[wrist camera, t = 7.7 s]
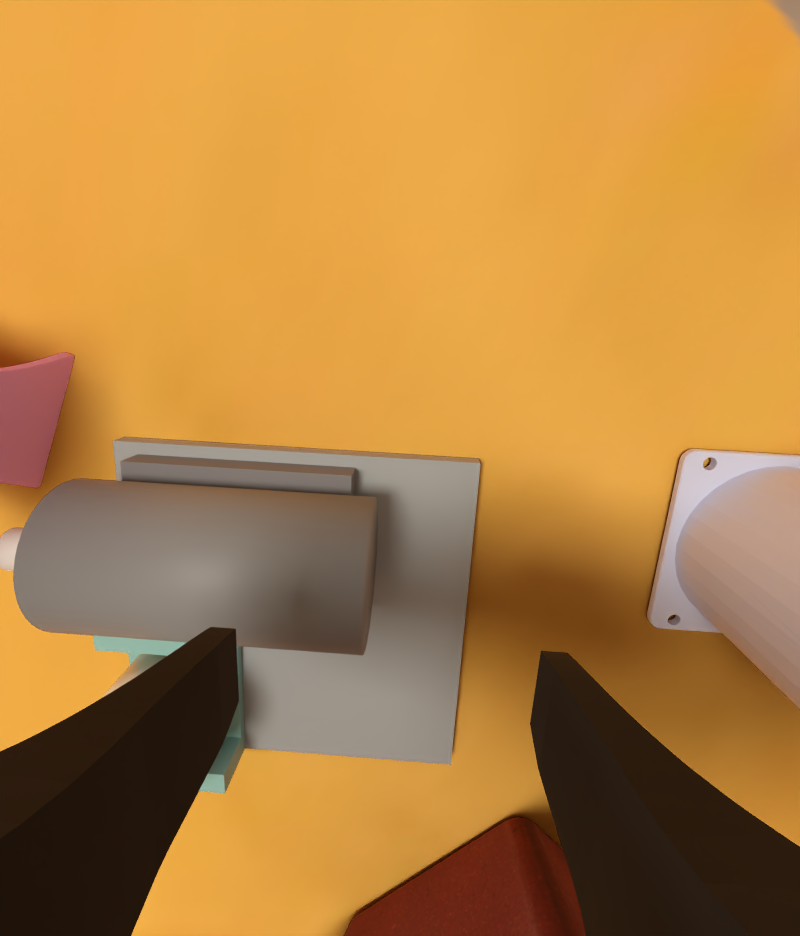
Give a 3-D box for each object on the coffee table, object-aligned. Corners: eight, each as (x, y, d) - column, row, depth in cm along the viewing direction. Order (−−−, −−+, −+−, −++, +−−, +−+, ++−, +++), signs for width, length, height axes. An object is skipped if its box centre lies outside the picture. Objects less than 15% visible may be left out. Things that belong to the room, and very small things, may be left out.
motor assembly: (478, 458, 20) (503, 511, 14) (449, 751, 24) (459, 894, 18) (69, 433, 20) (-84, 474, 14) (107, 723, 24) (0, 853, 18)
